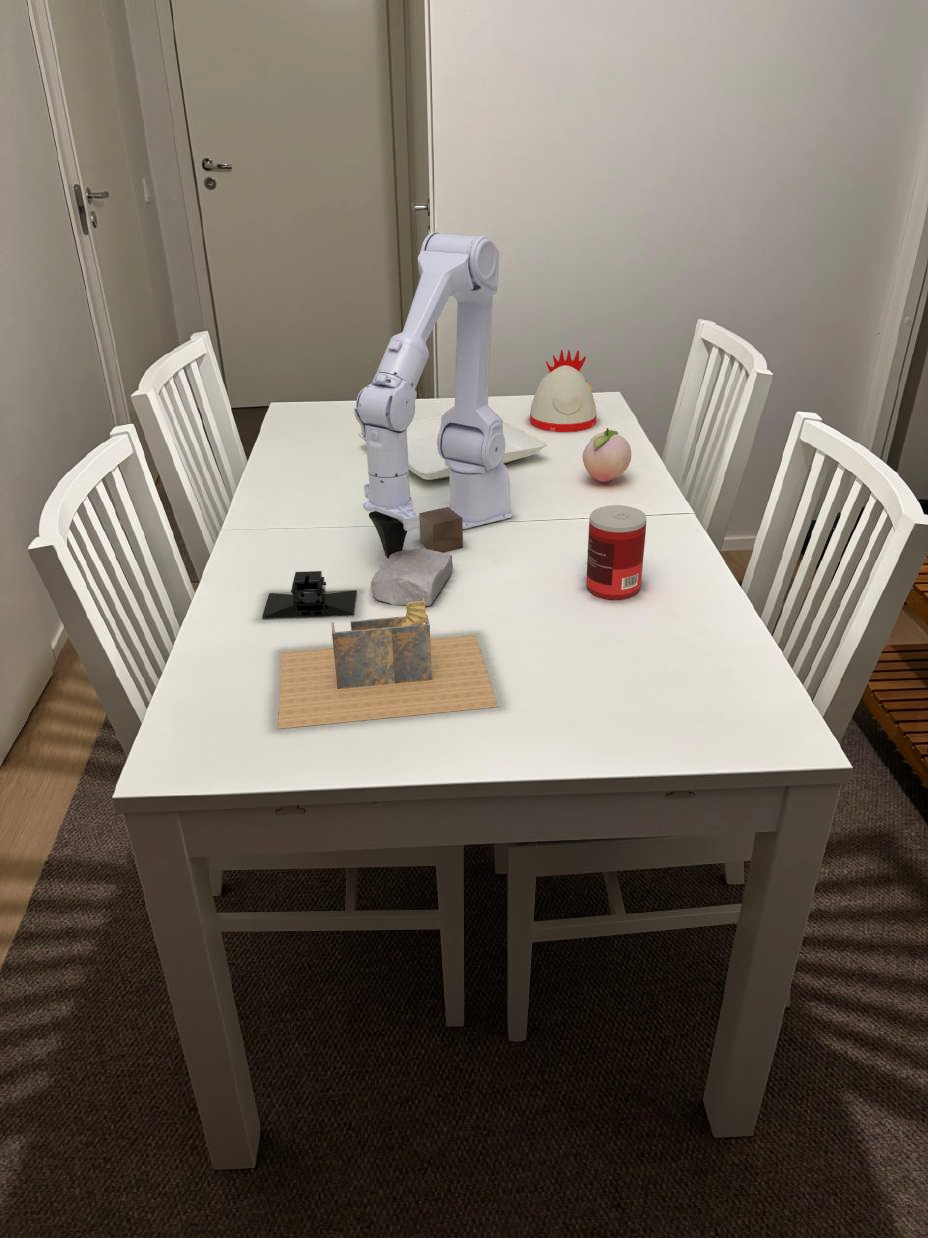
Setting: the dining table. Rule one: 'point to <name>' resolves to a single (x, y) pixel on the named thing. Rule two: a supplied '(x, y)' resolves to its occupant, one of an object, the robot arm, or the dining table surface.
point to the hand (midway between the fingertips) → (393, 557)
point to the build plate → (310, 599)
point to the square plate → (432, 466)
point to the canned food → (615, 551)
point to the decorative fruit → (607, 456)
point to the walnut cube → (441, 530)
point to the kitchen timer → (564, 398)
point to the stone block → (412, 576)
